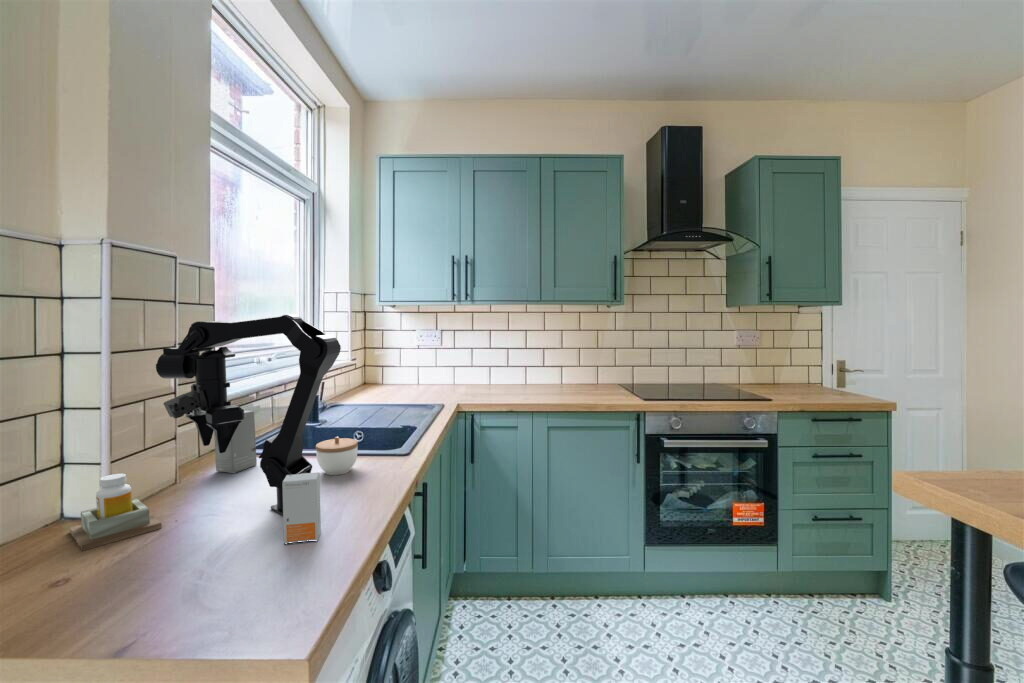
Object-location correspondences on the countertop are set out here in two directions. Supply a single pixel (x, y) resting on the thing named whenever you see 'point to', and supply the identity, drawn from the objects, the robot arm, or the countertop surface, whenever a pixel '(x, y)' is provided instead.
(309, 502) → the skincare box
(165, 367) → the robot arm
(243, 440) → the skincare box
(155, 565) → the countertop surface
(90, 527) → the socket board
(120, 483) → the supplement bottle
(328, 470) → the lidded jar
